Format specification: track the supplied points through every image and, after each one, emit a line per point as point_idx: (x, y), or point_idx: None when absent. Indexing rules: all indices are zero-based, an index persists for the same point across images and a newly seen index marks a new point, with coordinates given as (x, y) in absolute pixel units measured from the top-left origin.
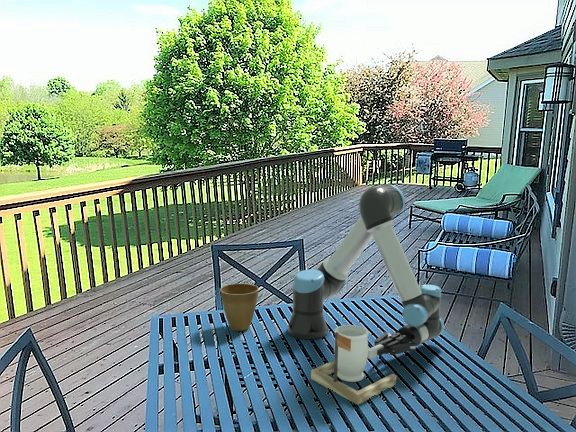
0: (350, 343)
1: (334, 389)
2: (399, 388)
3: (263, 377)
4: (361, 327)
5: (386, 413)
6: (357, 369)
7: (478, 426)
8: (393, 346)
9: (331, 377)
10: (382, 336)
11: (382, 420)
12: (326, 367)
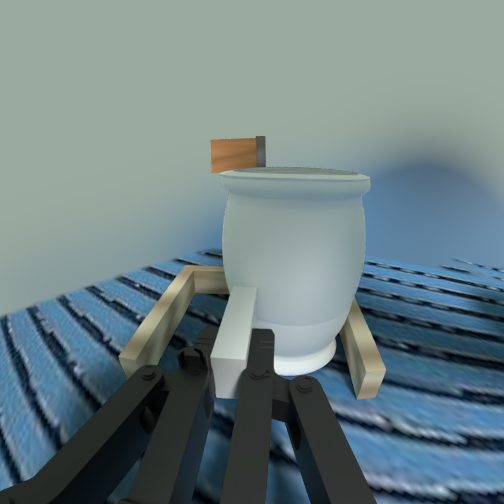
0: (211, 151)
1: None
2: (113, 373)
3: (383, 259)
4: (298, 175)
5: (126, 293)
6: None
7: None
8: (142, 390)
9: None
10: (347, 489)
11: (129, 281)
12: None
